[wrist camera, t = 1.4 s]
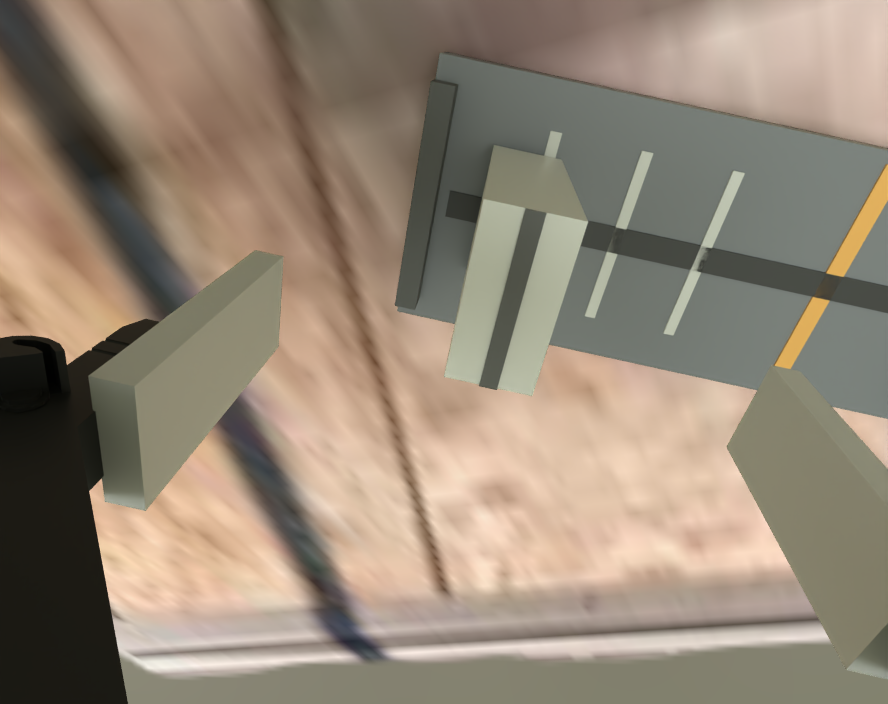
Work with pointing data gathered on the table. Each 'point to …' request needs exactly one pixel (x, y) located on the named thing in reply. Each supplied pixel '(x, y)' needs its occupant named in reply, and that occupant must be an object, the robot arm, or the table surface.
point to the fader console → (671, 229)
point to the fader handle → (516, 271)
